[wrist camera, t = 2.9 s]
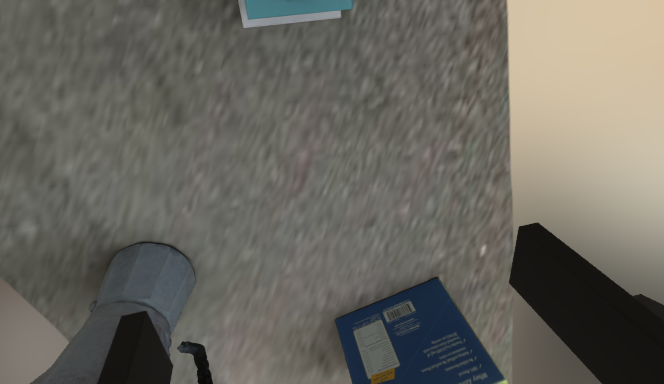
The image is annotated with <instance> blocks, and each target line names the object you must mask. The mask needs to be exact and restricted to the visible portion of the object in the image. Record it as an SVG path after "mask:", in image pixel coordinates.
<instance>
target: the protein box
mask: <svg viewBox="0 0 664 384" xmlns="http://www.w3.org/2000/svg"><path fill="white" fill-rule="evenodd" d="M335 322H336V326H337V329H338V333H339V337H340V340H341V344H342V347H343V351H344V354H345V358H346V362H347V365H348V369H349V373H350V377H351V380H352V384H508V382H507V379H506V378H505V377H504V375H503V374H502V372H501V371H500V369H499V368H498V366H497V365H496V363H495V362H494V360H493V359H492V357H491V356H490V354H489V353H488V351H487V350H486V348H485V347H484V345H483V344H482V342H481V341H480V339H479V338H478V336H477V335H476V333H475V332H474V330H473V329H472V327H471V326H470V324H469V323H468V321H467V320H466V318H465V317H464V315H463V314H462V312H461V311H460V309H459V308H458V306H457V305H456V303H455V302H454V300H453V299H452V297H451V296H450V294H449V292H448V291H447V289H446V288H445V286H444V285H443V283H442V282H441V280H440V279H439V278H436V279H433V280H430V281H428V282H426V283H423V284H421V285H418V286H416V287H414V288H411V289H409V290H406V291H404V292H401V293H399V294H396V295H394V296H392V297H389V298H387V299H384V300H382V301H379V302H377V303H375V304H372V305H370V306H367V307H365V308H362V309H360V310H357V311H355V312H353V313H350V314H348V315H345V316H343V317H340V318H338V319H336V320H335Z"/></svg>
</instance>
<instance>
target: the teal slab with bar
mask: <svg viewBox="0 0 664 384" xmlns="http://www.w3.org/2000/svg"><path fill="white" fill-rule="evenodd" d="M238 2H239V8H240V13H241V19H242V24H243V28H250V27H259V26H269V25H279V24H288V23H298V22H307V21H317V20H326V19H336V18H341V10H349V9H353V0H238Z"/></svg>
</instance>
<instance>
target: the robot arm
mask: <svg viewBox="0 0 664 384" xmlns="http://www.w3.org/2000/svg"><path fill="white" fill-rule="evenodd" d="M509 283H510V284H511V286H512V287H513V288H514V289H515V290H516V291H517V292H518V293H519V294H520V295H521V296H522V297H523V299H524V300H526V302H527V303H528V304H529V305H530V306H531V307H532V308H533V309H534V310H535V312H536V313H537V314H538V315H539V316H540V317H541V318H542V319H543V320H544V321H545V322H546V323H547V324H548V326H549V327H550V328H551V329H552V330H553V331H554V332H555V333H556V334H557V335H558V336H559V337H560V338H561V340H562V341H563V342H564V343H565V344H566V345H567V346H568V347H569V348H570V349H571V350H572V352H573V353H574V354H575V355H576V356H577V357H578V358H579V359H580V360H581V361H582V362H583V364H585V366H586V367H587V368H588V369H589V370H590V371H591V372H592V373H593V374H594V375H595V377H596V378H597V379H598V380H599V381H600V382H601V383H602V384H664V305H662V304H660V303H658V302H656V301H654V300H652V299H650V298H648V297H646V296H643V295H642V294H639V295H635V296H632V295H630V294H629V293H628V292H626V291H625V290H624V289H623V288H621V287H620V286H618V285H617V284H616V283H615V282H614V281H612V280H611V279H610V278H608V277H607V276H606V275H605V274H603V273H602V272H601V271H599V270H598V269H597V268H596V267H594V266H593V265H592V264H590V263H589V262H588V261H587V260H585V259H584V258H583V257H581V256H580V255H579V254H578V253H576V252H575V251H574V250H572V249H571V248H570V247H569V246H567V245H566V244H565V243H563V242H562V241H561V240H560V239H558V238H557V237H556V236H554V235H553V234H552V233H550V232H549V231H548V230H547V229H545V228H544V227H543V226H542V225H540V224H539V223H533V224H529V225H525V226H520V227H519V230H518V235H517V240H516V246H515V252H514V257H513V263H512V268H511V274H510V280H509ZM172 369H173V365H172V363H171V360H170V358H169V356H168V354H167V352H166V350H165V348H164V346H163V344H162V342H161V340H160V337H159V335H158V333H157V331H156V329H155V327H154V325H153V323H152V321H151V319H150V316H149V314H148V312H147V310H146V311H141V312H137V313H132V314H128V315H124V316H121V318H120V321H119V324H118V326H117V329H116V332H115V335H114V338H113V340H112V343H111V346H110V349H109V352H108V354H107V357H106V360H105V363H104V366H103V368H102V371H101V374H100V377H99V380H98V382H97V384H170V380H171V375H172Z"/></svg>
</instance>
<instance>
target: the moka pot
mask: <svg viewBox="0 0 664 384" xmlns="http://www.w3.org/2000/svg"><path fill="white" fill-rule="evenodd" d="M195 282H196V281H195V275H194V270H193V267H192V265H191V263H190V262H189V261H188V259H187V258H186V257H184V256H183V255H182V254H180V253H179V252H178V251H176V250H174V249H173V248H171V247H169V246H165V245H161V244H153V243H142V244H135V245H133V246H130V247H127V248H124V249H122V250H121V251H119V252H118V253H117V254H116V255H115V257H114V258H113V260H112V262H111V263H110V265H109V267H108V269H107V271H106V273H105V276H104V278H103V281H102V284H101V287H100V289H99V292H98V295H97V298H96V300H95V301H93V302H92V303H91V304H90V307H89V310H90V311H91V314H90V316H89V318H88V319H87V321H86V322H85V324H84V326H83V327H82V329H81V330H80V331H79V332H78V333H77V334H76V335H75V337H74V338H73V339H72V340H71V341H70V343H69V344H68V345H67V347H66V348H65V349H64V351H63V352H62V353H61V355H60V356H59V357H58V359H57V360H56V361H55V363H54V364H53V365H52V366H51V367H50V368H49V369H48V370H47V371H46V372H44V373H43V374H42V375H41V376H39V377H38V378H37V379H35V380H34V381H33V382H32V383H30V384H97V382H98V380H99V377H100V374H101V371H102V368H103V366H104V363H105V360H106V357H107V354H108V352H109V349H110V346H111V343H112V340H113V338H114V335H115V332H116V329H117V326H118V324H119V321H120V318H121V316H124V315H128V314H132V313H137V312H141V311H146V310H147V312H148V314H149V316H150V319H151V321H152V323H153V325H154V327H155V329H156V331H157V333H158V335H159V337H160V340H161V342H162V344H163V346H164V348H165V350H166V352H167V354H168V356H169V358H170V354H169V348H170V346H171V338H170V337H171V333H172V332H173V330H174V328H175V326H176V324H177V322H178V320H179V318H180V315H181V313H182V310H183V308H184V306H185V304H186V302H187V300H188V298H189V296H190V294H191V291H192V290H193V288H194V285H195ZM177 349H178V350H179V351H180V352H181V353H190V354H192V355H194V361H195V364H196V366H197V368H198V370H197V376H198V384H213V382H212V378H211V372H210V370H209V362H208V360H207V355H206V351H205V347H204V346H203V345H201V344H197V343H191V342H188V341H187V342H184V341H183V342H182V343H181V345H179V347H178V348H177Z"/></svg>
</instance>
